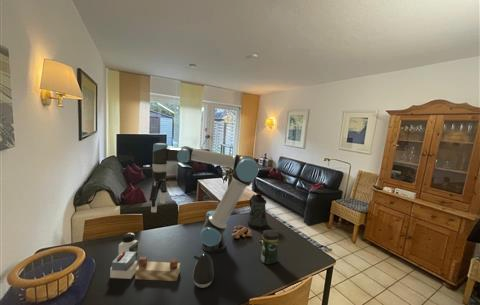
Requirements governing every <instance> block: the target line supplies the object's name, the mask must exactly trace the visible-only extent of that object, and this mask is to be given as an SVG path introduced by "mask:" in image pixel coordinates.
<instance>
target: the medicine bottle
mask: <svg viewBox="0 0 480 305" xmlns="http://www.w3.org/2000/svg"><path fill="white" fill-rule="evenodd" d="M135 236H136V235H135V233H134V232H128V233H124V234H123V235H122V241H121V242H120V243H119V244H118V255H119V254H120V253H121V252H122V251H126V252H136V254H137V253H138V251H139V241H138V240H136V239H135Z"/></svg>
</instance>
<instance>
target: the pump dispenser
mask: <svg viewBox="0 0 480 305" xmlns="http://www.w3.org/2000/svg"><path fill="white" fill-rule="evenodd" d="M193 259H195V260H196V262H195V265H194V267H193V272H192V280H193V283H194V284H195V285H196V287H197V288H203V289H204V288H207V287H208V286H210V285H211V283H212V282H213V280H214V277H215V270H214V264H213V260H212V258H211V256H210V255H209V254H208V253H207V252H206V253H205V252H204V253H201V255H200V256H197V255H193Z"/></svg>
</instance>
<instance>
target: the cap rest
mask: <svg viewBox="0 0 480 305" xmlns="http://www.w3.org/2000/svg"><path fill="white" fill-rule="evenodd" d="M137 267H138V260H135V261H134V262H133V263H132V265H131V266H130V267H129V269H128V270H127V271H118V270H112V266H111V267H110V270H109V271H110V273H109V274H110V275H109V278H110V279H128V280H131V279H132V278H133V277H134V276H135V269H136V268H137Z"/></svg>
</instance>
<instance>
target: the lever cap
mask: <svg viewBox="0 0 480 305" xmlns="http://www.w3.org/2000/svg"><path fill="white" fill-rule="evenodd" d="M136 257H137V253H136V252H126V251H122V252H121V253H120V254H119V253H118V255H117V256H116V258H114V260H113V261H112V262H111V267H112V270H118V271H127V270H128V269H129V267H130V266H131V265H132V263H133V262H134V261H137V260H136V259H137V258H136Z"/></svg>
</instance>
